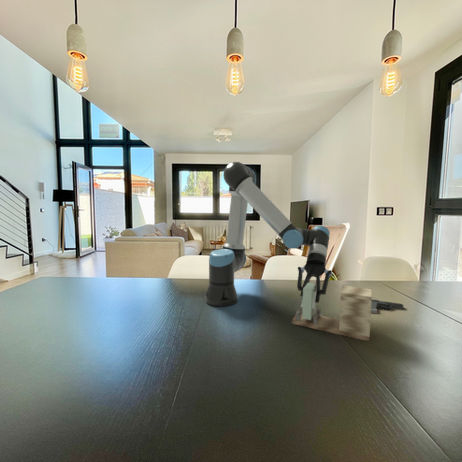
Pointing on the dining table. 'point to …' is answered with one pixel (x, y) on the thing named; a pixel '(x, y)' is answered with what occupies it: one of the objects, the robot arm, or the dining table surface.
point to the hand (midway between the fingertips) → (307, 308)
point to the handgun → (384, 305)
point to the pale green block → (308, 300)
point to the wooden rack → (344, 315)
